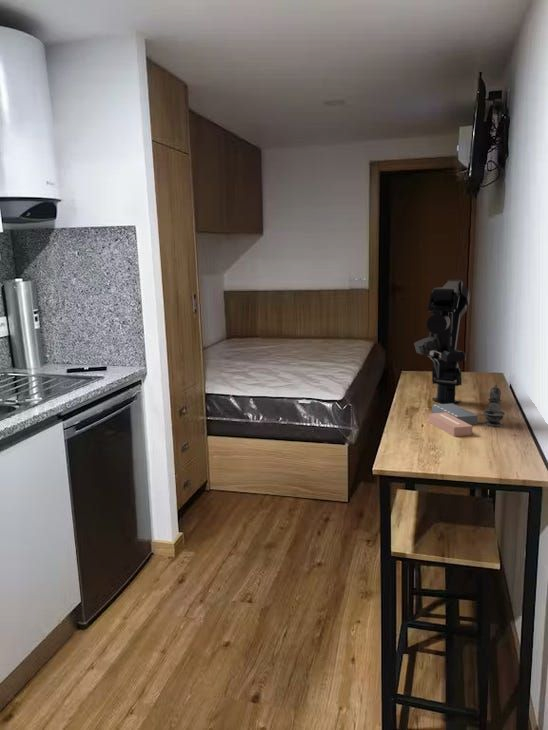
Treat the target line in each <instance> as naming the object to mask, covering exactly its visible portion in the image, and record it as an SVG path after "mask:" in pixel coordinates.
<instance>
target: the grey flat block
mask: <svg viewBox="0 0 548 730" xmlns="http://www.w3.org/2000/svg"><path fill="white" fill-rule="evenodd" d="M444 412H446V413H448V414H450V415H452V416H454V417H456V418H458V419H460V420H462V421H464V422H466V423H468V424H470V425H477V424H478V421H479V420H478V419H479V415H478V414H476V413H473V412H472V411H469V410H467V409H465V408H463V407H461V406H460V405H457V404H456V403H449V404H441V403H436V404H432V407H431V413H444Z"/></svg>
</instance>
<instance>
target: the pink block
mask: <svg viewBox="0 0 548 730" xmlns="http://www.w3.org/2000/svg"><path fill="white" fill-rule="evenodd" d="M428 423H430V424H432V425H433V426H435V427H437V428H439V430H441V431H444V432H445V433H448V434H449V435H451V436H452V437H461V436H471V435H473V427H474V426H473V424H468V423H466V422H464V421H462V420H460V419H458V418H456V417H454V416H452V415H450V414H448V413H446V412H444V413H432V412H431V413H428Z"/></svg>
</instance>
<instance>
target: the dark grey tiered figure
mask: <svg viewBox="0 0 548 730" xmlns="http://www.w3.org/2000/svg"><path fill="white" fill-rule="evenodd" d="M501 393H502V390H501V389H500V388H499V387H498V385H497V384H495V385H494V387H492V388H491V389H490V393H489V394H490V395H489V398H488V401H489V402H488V408H487V409H485V410H483V416H484V419H485V420H486V421H484V422H483V425H484V426H486V427H490V426H493V427H492V428H501V426H502V427H503V426H504V424H503V423H501V421H502V420H503V419H504V416H505V415H506V413H505V412H504V411H502V410H501V402H502V399H501V395H502V394H501Z"/></svg>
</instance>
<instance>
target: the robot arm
mask: <svg viewBox="0 0 548 730" xmlns="http://www.w3.org/2000/svg"><path fill="white" fill-rule="evenodd" d="M470 296H471V295H470V289H468V287H467V286H465V285H464V283H463V280H461V279H448V280H446V283H445V284H444V285H443V286H442V287H434V288H433V290H432V291H431V292H430V296H429V301H428V302H429V303H428V307H427V312H432V315H431V316H429V317H428V318H427V321H426V328H427V329H428V331H429V333H428V337H425V338H422V339H420V340H417V341H415V342H414V343H413V345H414V349H415V352H416V354H420V355H422V356H423V355H426V354H427V355H426V356H427V357H428V358H429V359H430V360H431V361H432V363H433V366H432V371H431V372H432V373H431V374H432V375H431V376H432V379H431V380H432V384H433V385H435V384H436V397H433V398H432V400H433V402H436V403H438V404H451V403H453V404H459V400H456V387H458V386H462V381H463V379H462V372H461V369H460V366H459V363H458V362H466V359H467V357H466V356H467V354H466V353H465V352H464V351H463V350H459V349H457V345H458V337H459V331H460V324H461V323H460V322H461V318H462V317H463V316H464V315H465V313H467V308H468V306H469V305H470V300H471V299H470V298H471V297H470ZM428 353H429V354H428Z"/></svg>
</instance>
